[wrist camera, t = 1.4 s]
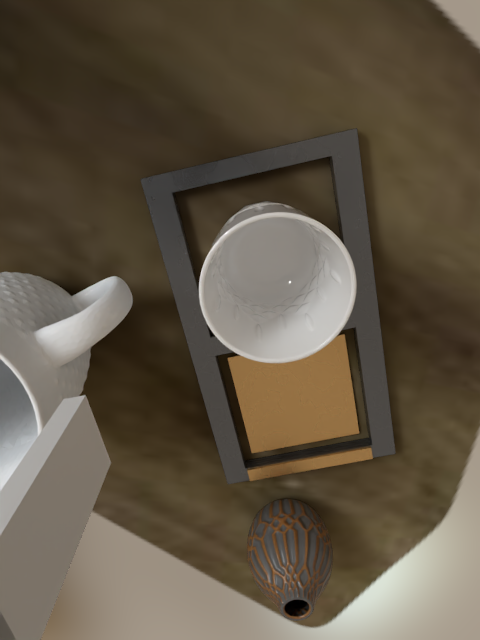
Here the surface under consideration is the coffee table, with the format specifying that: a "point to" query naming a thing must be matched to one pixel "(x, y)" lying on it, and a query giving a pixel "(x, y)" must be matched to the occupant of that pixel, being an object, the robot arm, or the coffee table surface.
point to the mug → (47, 352)
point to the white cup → (276, 284)
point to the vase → (290, 556)
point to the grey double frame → (292, 377)
